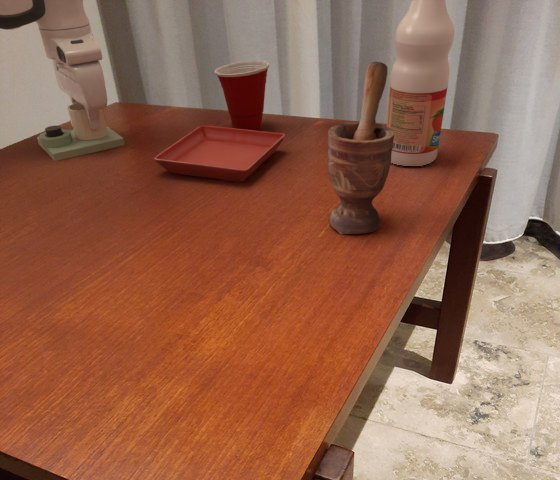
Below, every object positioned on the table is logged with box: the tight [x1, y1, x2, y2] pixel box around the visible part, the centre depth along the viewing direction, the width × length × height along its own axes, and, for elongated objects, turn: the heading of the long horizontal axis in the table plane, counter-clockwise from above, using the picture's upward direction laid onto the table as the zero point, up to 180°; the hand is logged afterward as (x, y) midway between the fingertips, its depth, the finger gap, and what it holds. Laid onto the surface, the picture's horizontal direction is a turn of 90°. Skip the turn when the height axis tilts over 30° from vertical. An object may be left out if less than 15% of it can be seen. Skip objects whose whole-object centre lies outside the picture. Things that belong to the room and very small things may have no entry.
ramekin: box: [66, 102, 108, 140], centre depth 110 cm, size 6×6×6 cm
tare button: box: [44, 125, 63, 137], centre depth 107 cm, size 3×3×2 cm
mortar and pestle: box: [327, 61, 394, 235], centre depth 76 cm, size 12×9×20 cm
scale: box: [36, 125, 126, 162], centre depth 110 cm, size 14×12×3 cm
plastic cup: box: [214, 59, 270, 131], centre depth 111 cm, size 11×11×12 cm
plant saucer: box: [153, 124, 286, 183], centre depth 100 cm, size 18×18×3 cm
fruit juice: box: [385, 0, 455, 167], centre depth 90 cm, size 9×9×28 cm
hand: (89, 123), depth 110 cm, fingers closed on ramekin, 6 cm apart
